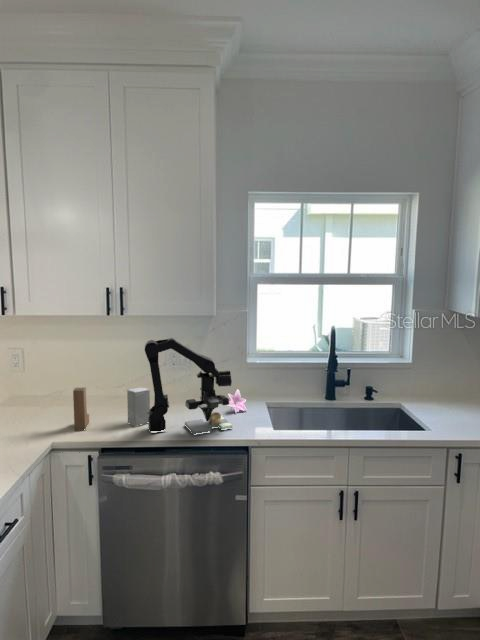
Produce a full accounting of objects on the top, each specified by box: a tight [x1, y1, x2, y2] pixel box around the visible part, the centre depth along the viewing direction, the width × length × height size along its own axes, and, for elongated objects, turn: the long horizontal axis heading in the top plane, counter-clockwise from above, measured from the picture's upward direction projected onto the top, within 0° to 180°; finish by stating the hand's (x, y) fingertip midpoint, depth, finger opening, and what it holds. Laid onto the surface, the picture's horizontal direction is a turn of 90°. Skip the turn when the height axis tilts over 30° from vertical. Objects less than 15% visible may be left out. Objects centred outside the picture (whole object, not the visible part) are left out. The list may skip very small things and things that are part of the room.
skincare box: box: [126, 387, 151, 427], centre depth 197 cm, size 8×7×16 cm
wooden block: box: [72, 387, 90, 431], centre depth 191 cm, size 9×4×18 cm, turn 8°
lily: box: [226, 388, 248, 413], centre depth 216 cm, size 12×12×10 cm
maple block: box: [209, 411, 222, 424], centre depth 195 cm, size 4×4×4 cm
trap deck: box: [184, 415, 233, 435], centre depth 194 cm, size 18×12×2 cm, turn 115°
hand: (207, 420), depth 193 cm, fingers closed
